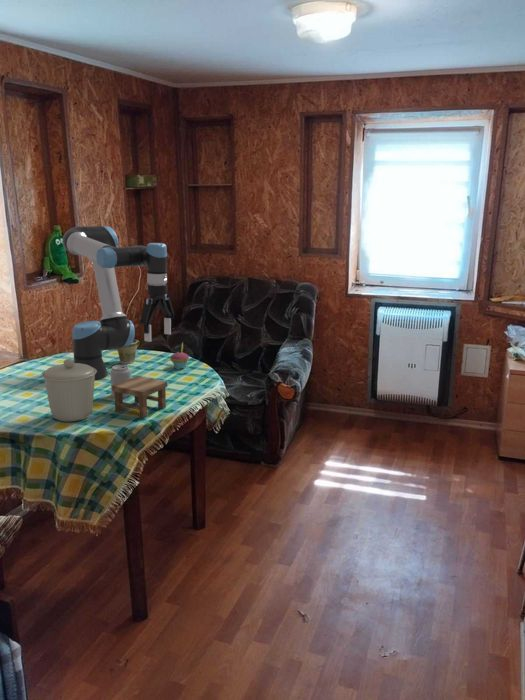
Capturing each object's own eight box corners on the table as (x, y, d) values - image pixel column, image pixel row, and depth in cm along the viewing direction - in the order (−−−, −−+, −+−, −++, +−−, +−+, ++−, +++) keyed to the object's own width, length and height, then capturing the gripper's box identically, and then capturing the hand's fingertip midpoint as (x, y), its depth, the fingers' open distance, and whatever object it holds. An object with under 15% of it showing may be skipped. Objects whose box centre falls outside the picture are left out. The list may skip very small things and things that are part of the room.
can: (134, 394, 229) (133, 365, 226) (124, 400, 222) (123, 370, 219) (118, 391, 232) (117, 363, 229) (107, 397, 225) (106, 367, 222)
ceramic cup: (127, 366, 266) (126, 345, 264) (111, 362, 272) (111, 341, 269) (147, 360, 277) (146, 339, 274) (132, 356, 282) (131, 336, 280)
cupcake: (179, 364, 272) (179, 339, 269) (193, 367, 267) (193, 342, 264) (166, 367, 265) (166, 342, 262) (180, 371, 261) (179, 345, 258)
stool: (113, 411, 210) (112, 385, 208) (137, 400, 222) (137, 375, 220) (144, 419, 204) (143, 392, 202) (167, 407, 216) (167, 381, 214)
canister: (38, 426, 195) (33, 366, 190) (53, 407, 213) (49, 352, 208) (92, 426, 196) (89, 367, 191) (103, 407, 214) (101, 352, 209)
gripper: (146, 289, 210) (147, 345, 216) (182, 280, 232) (183, 332, 238) (129, 287, 213) (130, 343, 219) (167, 279, 235) (167, 330, 241)
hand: (158, 337), depth 228 cm, fingers open, 13 cm apart
